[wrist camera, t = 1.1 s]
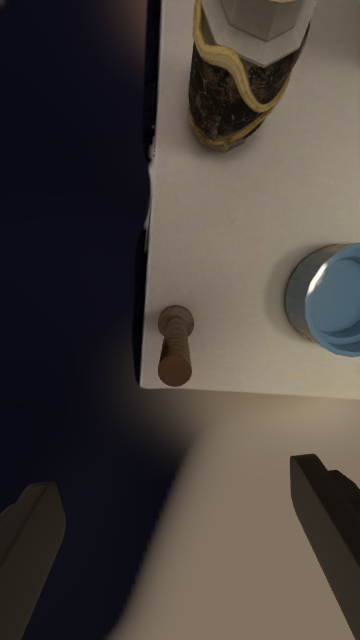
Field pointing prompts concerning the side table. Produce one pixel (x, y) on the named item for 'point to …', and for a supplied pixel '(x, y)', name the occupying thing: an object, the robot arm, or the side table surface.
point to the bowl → (328, 299)
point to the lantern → (242, 64)
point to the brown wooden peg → (175, 345)
